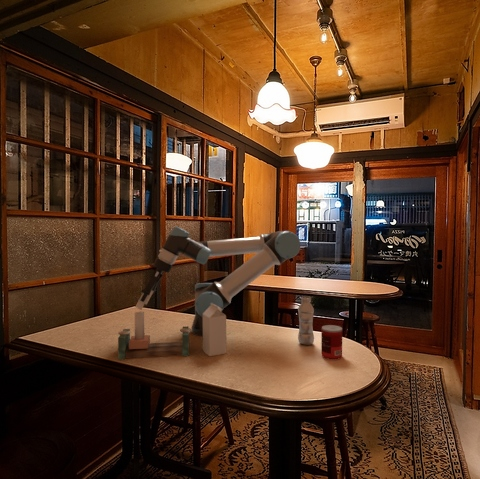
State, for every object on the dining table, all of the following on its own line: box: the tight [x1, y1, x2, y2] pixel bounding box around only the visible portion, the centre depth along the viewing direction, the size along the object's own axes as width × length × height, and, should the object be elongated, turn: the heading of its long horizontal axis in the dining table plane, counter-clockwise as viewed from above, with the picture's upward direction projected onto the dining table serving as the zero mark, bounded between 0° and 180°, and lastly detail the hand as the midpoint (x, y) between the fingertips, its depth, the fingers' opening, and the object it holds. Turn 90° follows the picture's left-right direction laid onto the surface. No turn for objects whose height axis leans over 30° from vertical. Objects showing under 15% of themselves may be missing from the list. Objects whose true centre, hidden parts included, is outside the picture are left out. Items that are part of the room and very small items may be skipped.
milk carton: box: [202, 303, 227, 357], centre depth 138 cm, size 7×7×19 cm
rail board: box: [117, 326, 191, 360], centre depth 139 cm, size 28×12×8 cm, turn 99°
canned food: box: [320, 324, 343, 361], centre depth 134 cm, size 8×8×11 cm
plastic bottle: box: [297, 295, 315, 346], centre depth 148 cm, size 6×7×20 cm
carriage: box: [129, 311, 151, 349], centre depth 138 cm, size 7×7×13 cm
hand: (141, 305), depth 148 cm, fingers open, 13 cm apart
